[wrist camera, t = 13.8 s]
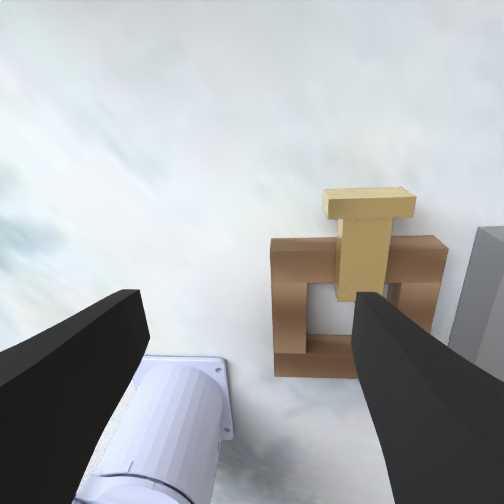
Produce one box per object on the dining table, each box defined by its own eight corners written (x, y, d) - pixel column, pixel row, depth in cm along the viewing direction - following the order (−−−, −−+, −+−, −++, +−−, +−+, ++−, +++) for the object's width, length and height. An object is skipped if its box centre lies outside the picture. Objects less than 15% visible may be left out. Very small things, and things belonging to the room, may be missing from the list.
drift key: (387, 285, 19) (398, 304, 17) (320, 286, 19) (323, 304, 17) (401, 186, 16) (416, 196, 14) (323, 189, 17) (328, 199, 15)
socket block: (408, 359, 23) (419, 380, 22) (275, 356, 24) (274, 376, 23) (432, 235, 19) (448, 248, 17) (271, 238, 20) (269, 251, 18)
